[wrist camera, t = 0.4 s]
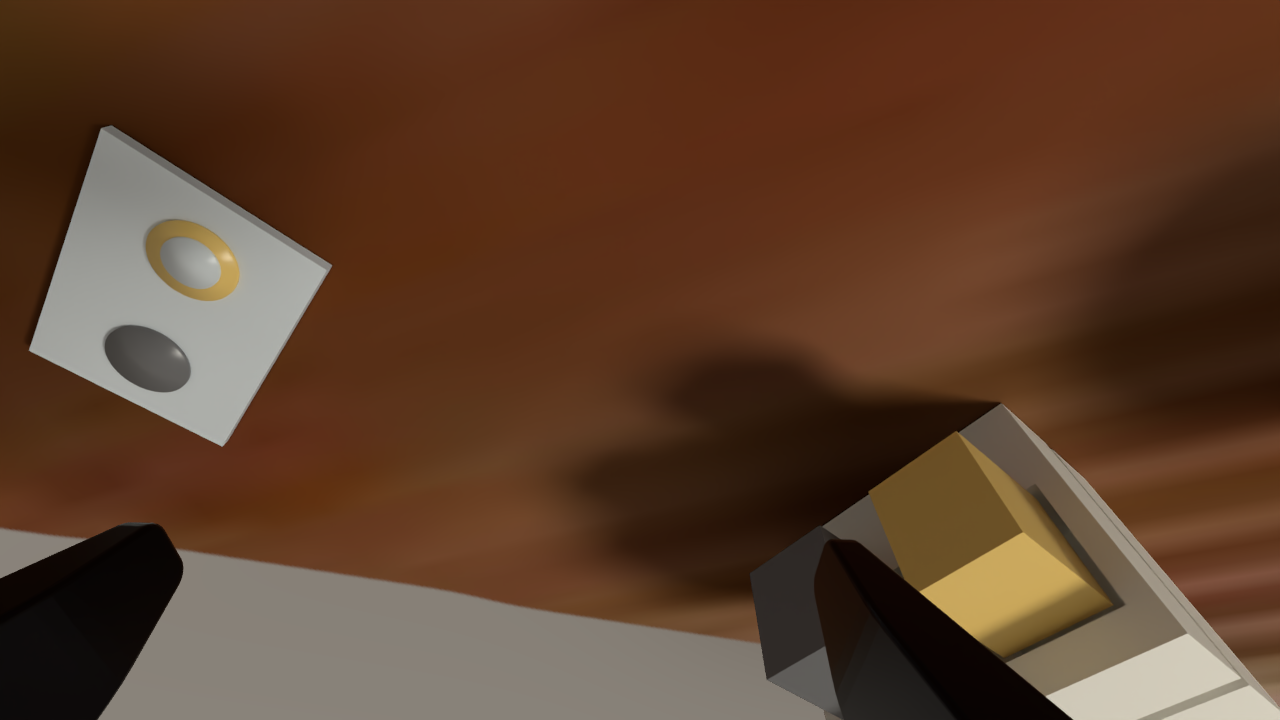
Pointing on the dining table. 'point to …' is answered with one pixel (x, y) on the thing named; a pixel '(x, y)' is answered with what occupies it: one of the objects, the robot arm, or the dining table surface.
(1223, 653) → the console
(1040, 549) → the amber button
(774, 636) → the charcoal button
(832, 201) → the dining table surface
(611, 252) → the dining table surface
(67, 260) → the card
